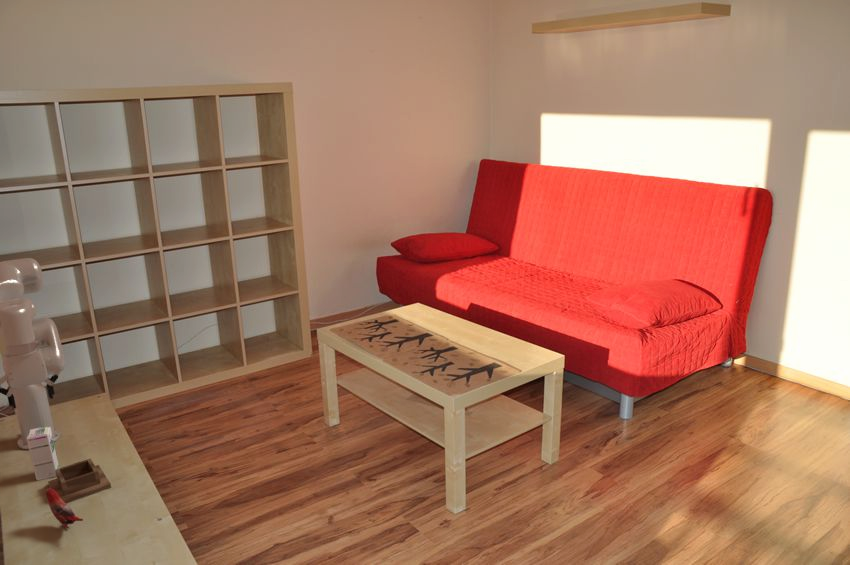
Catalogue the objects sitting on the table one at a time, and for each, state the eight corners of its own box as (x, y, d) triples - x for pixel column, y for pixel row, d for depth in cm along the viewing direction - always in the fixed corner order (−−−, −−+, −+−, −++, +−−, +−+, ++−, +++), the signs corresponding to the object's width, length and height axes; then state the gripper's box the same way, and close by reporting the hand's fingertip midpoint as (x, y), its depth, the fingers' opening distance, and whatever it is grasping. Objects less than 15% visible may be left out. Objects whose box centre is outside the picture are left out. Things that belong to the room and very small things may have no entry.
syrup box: (57, 476, 205) (48, 433, 201) (35, 481, 203) (26, 437, 199) (59, 467, 210) (51, 425, 206) (38, 471, 208) (29, 429, 204)
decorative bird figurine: (57, 516, 185) (50, 483, 183) (92, 537, 175) (86, 504, 173) (46, 521, 183) (39, 488, 180) (81, 544, 173) (74, 509, 171)
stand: (48, 485, 201) (45, 469, 199) (99, 468, 209) (96, 453, 207) (58, 506, 190) (54, 489, 189) (111, 487, 198) (108, 471, 197)
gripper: (52, 337, 203) (62, 389, 208) (-16, 351, 193) (-3, 406, 198) (57, 343, 198) (67, 397, 202) (-12, 359, 187) (0, 415, 192)
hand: (32, 402), depth 200 cm, fingers open, 9 cm apart
